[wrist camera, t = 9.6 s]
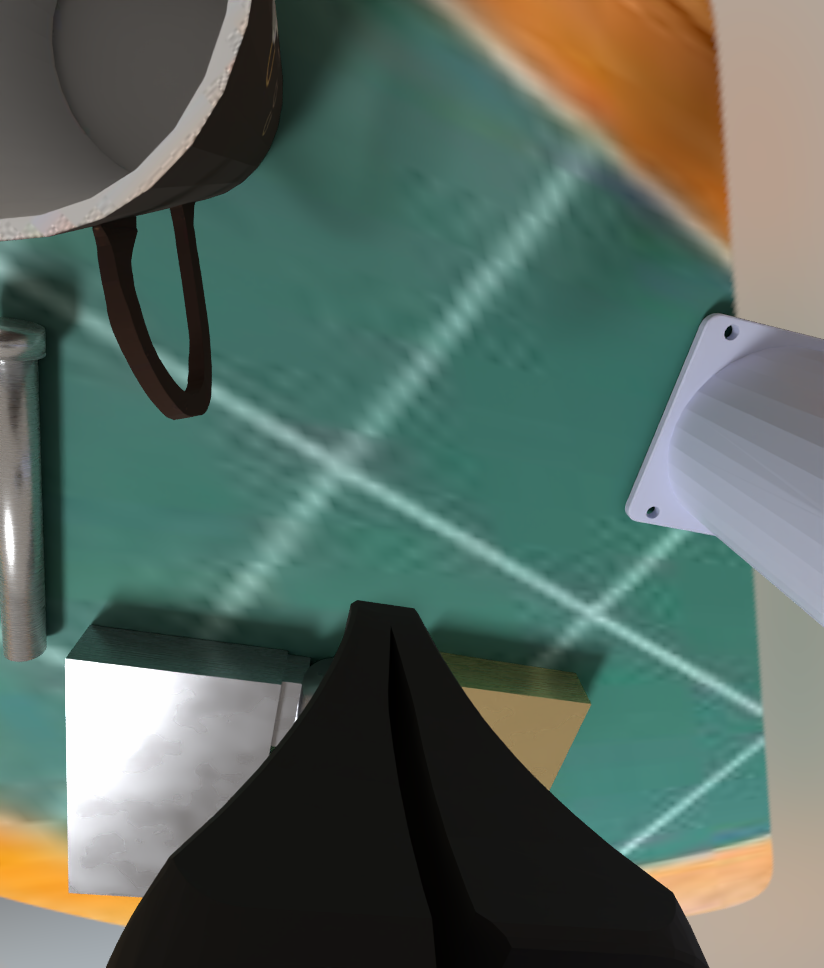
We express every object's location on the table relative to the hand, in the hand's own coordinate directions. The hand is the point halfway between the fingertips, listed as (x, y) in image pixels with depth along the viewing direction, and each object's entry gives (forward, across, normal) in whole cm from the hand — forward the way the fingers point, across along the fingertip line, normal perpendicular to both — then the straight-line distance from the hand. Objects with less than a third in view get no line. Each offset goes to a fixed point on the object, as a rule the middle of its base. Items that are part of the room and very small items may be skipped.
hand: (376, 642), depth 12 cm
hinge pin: (+10, +12, +4) cm, 16 cm away
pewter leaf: (+10, +4, +16) cm, 19 cm away
